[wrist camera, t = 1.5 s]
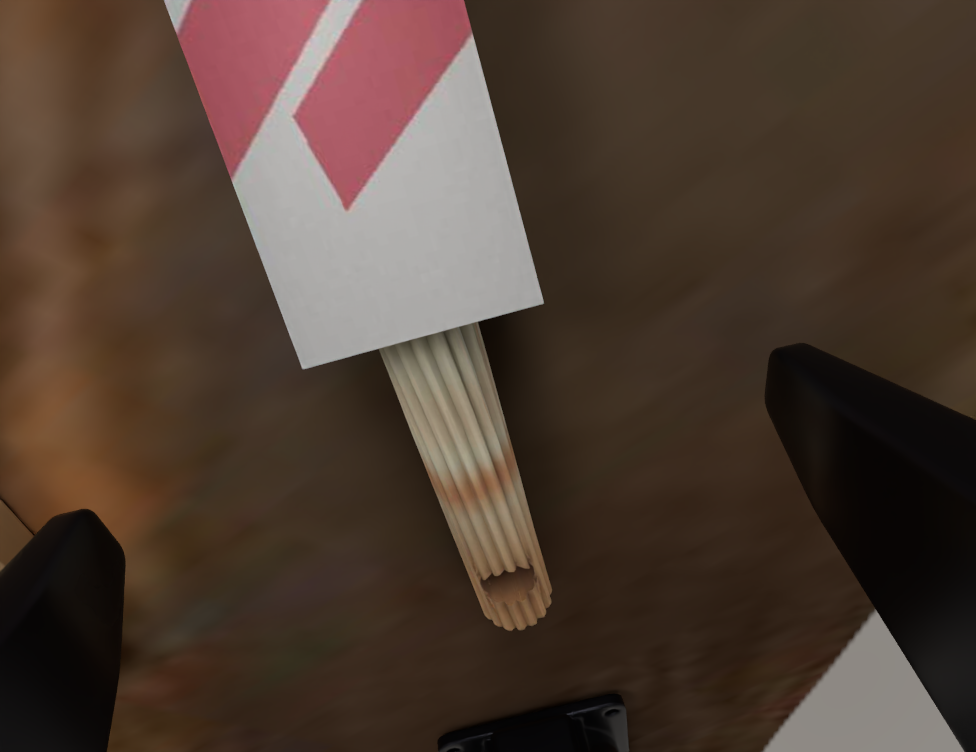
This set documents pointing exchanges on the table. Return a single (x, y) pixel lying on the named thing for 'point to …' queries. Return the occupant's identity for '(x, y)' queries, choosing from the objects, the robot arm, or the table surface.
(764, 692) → the table surface
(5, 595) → the robot arm
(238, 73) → the paintbrush
